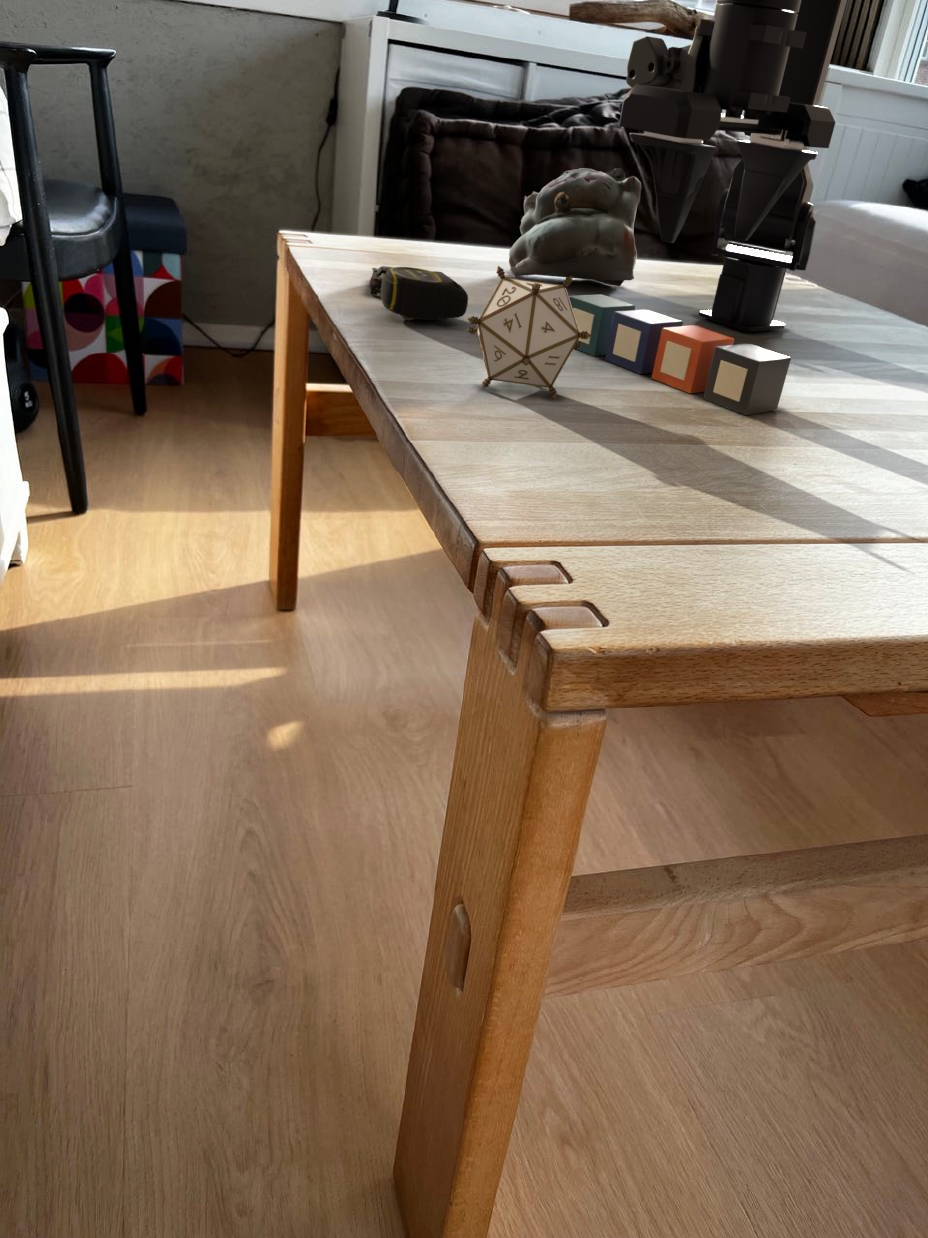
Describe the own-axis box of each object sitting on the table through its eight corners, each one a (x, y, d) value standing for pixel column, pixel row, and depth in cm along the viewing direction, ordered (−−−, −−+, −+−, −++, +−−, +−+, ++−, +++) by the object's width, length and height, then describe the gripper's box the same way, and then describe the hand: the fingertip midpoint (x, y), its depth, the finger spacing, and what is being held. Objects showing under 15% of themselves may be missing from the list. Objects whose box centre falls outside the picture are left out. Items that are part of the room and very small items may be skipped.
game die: (522, 446, 74) (542, 359, 65) (435, 377, 76) (443, 283, 67) (598, 374, 77) (628, 282, 68) (513, 310, 79) (531, 211, 70)
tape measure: (467, 329, 88) (472, 285, 86) (389, 325, 85) (394, 279, 84) (444, 310, 93) (449, 267, 91) (370, 305, 91) (374, 262, 89)
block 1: (593, 340, 90) (601, 293, 88) (626, 352, 87) (635, 305, 86) (560, 343, 88) (568, 295, 86) (593, 356, 85) (602, 307, 83)
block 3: (734, 393, 80) (748, 342, 78) (777, 409, 77) (791, 357, 76) (702, 398, 78) (714, 346, 76) (744, 415, 75) (758, 361, 73)
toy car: (372, 280, 101) (374, 257, 100) (407, 284, 101) (409, 262, 100) (367, 297, 94) (369, 273, 93) (405, 301, 94) (407, 278, 93)
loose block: (683, 374, 83) (694, 324, 82) (722, 388, 81) (734, 338, 79) (650, 378, 81) (661, 327, 79) (689, 393, 78) (701, 341, 76)
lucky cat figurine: (482, 272, 111) (496, 145, 111) (536, 308, 121) (549, 191, 121) (608, 258, 102) (623, 120, 102) (655, 298, 112) (669, 172, 112)
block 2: (636, 356, 87) (646, 308, 85) (672, 370, 84) (683, 321, 82) (603, 360, 84) (613, 311, 82) (639, 374, 82) (650, 324, 80)
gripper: (743, 15, 83) (699, 219, 90) (584, -15, 72) (548, 220, 79) (865, 26, 76) (805, 246, 83) (709, -6, 65) (657, 252, 72)
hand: (705, 240), depth 80 cm, fingers open, 9 cm apart
